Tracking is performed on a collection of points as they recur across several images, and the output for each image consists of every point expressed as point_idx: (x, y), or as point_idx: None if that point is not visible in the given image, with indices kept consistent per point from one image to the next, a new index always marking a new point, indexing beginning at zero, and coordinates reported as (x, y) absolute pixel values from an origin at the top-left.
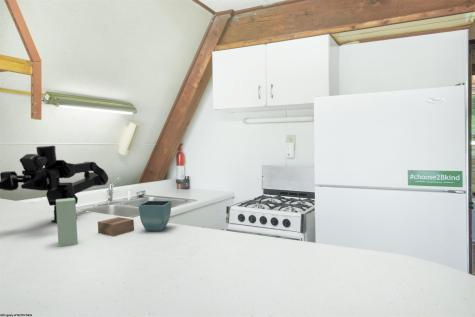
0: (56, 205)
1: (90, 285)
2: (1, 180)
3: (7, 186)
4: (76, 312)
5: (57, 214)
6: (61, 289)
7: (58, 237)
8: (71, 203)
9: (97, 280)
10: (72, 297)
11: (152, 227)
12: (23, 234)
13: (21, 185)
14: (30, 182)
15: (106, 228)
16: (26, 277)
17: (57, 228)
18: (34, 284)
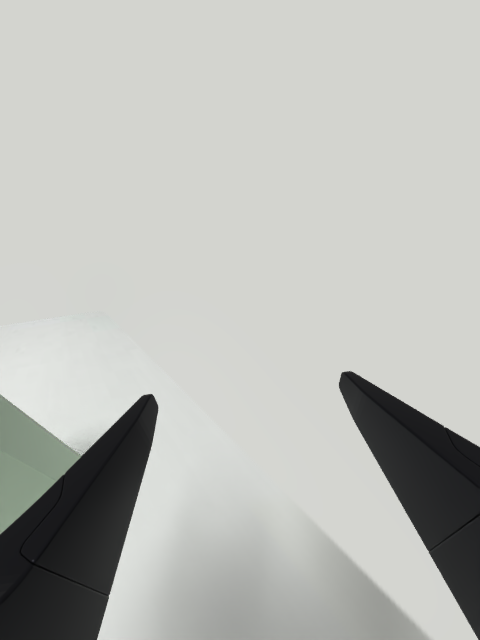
0: (1, 396)
1: (33, 344)
2: (451, 437)
3: (439, 531)
4: (50, 318)
5: (22, 414)
6: (63, 334)
7: (67, 447)
8: None
9: (22, 352)
10: (53, 328)
11: None
12: (290, 611)
13: (149, 394)
14: (89, 457)
15: None
16: (106, 343)
17: (60, 470)
18: (92, 335)
